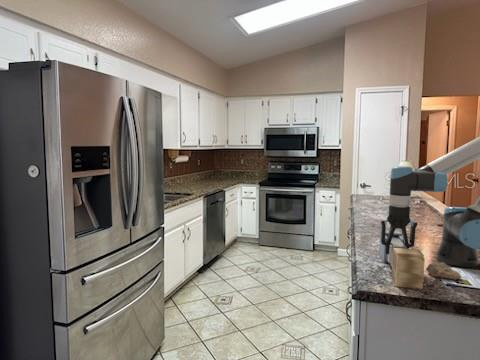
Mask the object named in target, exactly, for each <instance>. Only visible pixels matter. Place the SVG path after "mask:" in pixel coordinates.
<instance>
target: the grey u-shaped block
mask: <svg viewBox="0 0 480 360" xmlns="http://www.w3.org/2000/svg"><path fill="white" fill-rule="evenodd" d="M389 231H390V230H386V234H385V242H386V240H387V236H386V235H388V234H389ZM393 235H396V236H397V237H398V238H399V239H400V240H401V242H402V243H403V244H404V240H403V235H402V231H397V230H395V231H394V234H393ZM385 247H386V246H385V245H383V244H382V243H381V230H380V231H379V248H378V249H379V250H378V255H379V257H380V258H381V260H382V262H383V263H388V261H387V254H386V252H385Z"/></svg>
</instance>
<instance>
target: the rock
mask: <svg viewBox="0 0 480 360" xmlns="http://www.w3.org/2000/svg"><path fill="white" fill-rule="evenodd" d="M448 265H449V264H446V263H444V262H441V261H440V262H439V261H435V262H432V263H430V264H428V266H427V267H426V268H425V271H427V272H428V273H429V275H430V276H431V277H436V278H443V279H451V280H458V279H462V275H461V274H460V272H459V271H456V270H454V269H452V268H451V267H450V266H448Z"/></svg>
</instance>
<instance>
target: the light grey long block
mask: <svg viewBox="0 0 480 360" xmlns="http://www.w3.org/2000/svg"><path fill="white" fill-rule="evenodd" d="M386 236H387V237H388V235H386ZM390 245H391V247H392V251H391V263H389V262H388V263H389V265H390V267H391V268H392V263H393V248H404V249H407V247H406V246H405V245H404V244H403V243H402V242H401V240H400V239H399V238H398V237H397V236H396V235H393V237H392V240H391V243H390ZM387 260H388V254H387Z"/></svg>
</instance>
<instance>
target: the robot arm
mask: <svg viewBox="0 0 480 360" xmlns="http://www.w3.org/2000/svg"><path fill="white" fill-rule="evenodd" d="M479 159H480V136H478V137H476V138H474V139H473V140H471V141H469V142H467V143H465V144H463V145H461V146H459V147H457V148H455V149H453V150H452V151H450V152H448V153H446V154H444V155H442V156H440V157H438V158H437V159H434V160H433V161H431V162H429V163H427V164H425V165H423V166H421V167H420V168H415V169H413V168H412V166H405V165H397V166H396V165H395V166H392V168H391V172H390V179H389V181H390V182H389V198H388V199H389V200H388V201H389V202H388V203H389V206H388V216H387V218H385V219H380V220H379V222H380V225H381V227H380V228H381V229H380V231H381V243H382V244H383V245H385V246H386V247H385V252H386V254H388V260H387V263H391V251H392V247H391V245H390V243H391V240H392V237H393V234H394V231H396V229H399V230H401V233H402V237H403V240H404V245H405V246H406V247H407V249H411V247H413V248H414V247H415V240H416V239H415V238H416V230H417V227H418V222H417V221H415V220H411V217H410V213H411V212H410V211H411V207H410V206H411V197H412V192H430V193H442V192H445V191H446V190H447V188H448V185H449V184H448V183H449V181H448V175H450V174H451V173H454V172H456V171H458V170H459V169H461V168H464V167H465V166H468V165H469V164H471V163H473V162H476V161H477V160H479ZM442 222H443V223H442V232H441V233H442V235H441V237H442V238H441V242H440V244H439V246H438V248H437V250H436V253H435V254H436V255H435V259H436V260H437V261H438V262H439V261H440V262H443V263H445V264H447V265H452V266H455V267H456V266H457V267H462V268H475V267H477V266H479V264H480V262H479V261H480V259H479V255H478V253H477V251H478V250H479V251H480V195H479V197H478V198H477V200H476V201H475V203H474V204H472V205H468V206H467V207H462V206H461V207H460V206H459V207H458V206H446V207H445V208H444V211H443V221H442ZM388 224H390V227H389V230H388V231H389V234H388V237H387V240H386V242H385V234H386V231H387V229H386V227H387V225H388ZM408 225H409V226H410V231H409V239H408V233H407V226H408Z"/></svg>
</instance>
